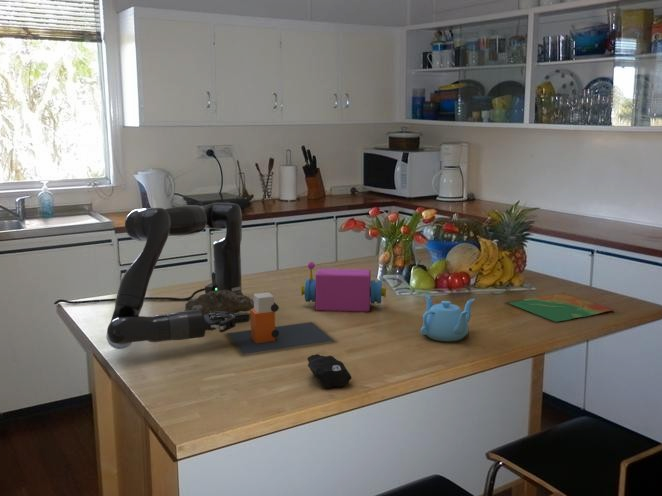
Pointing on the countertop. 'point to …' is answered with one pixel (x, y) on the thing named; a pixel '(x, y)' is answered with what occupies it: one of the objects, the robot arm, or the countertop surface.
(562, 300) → the terrain model
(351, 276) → the toy
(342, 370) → the rock
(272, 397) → the countertop surface
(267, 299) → the truck
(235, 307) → the fossil
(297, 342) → the mat
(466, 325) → the teapot
